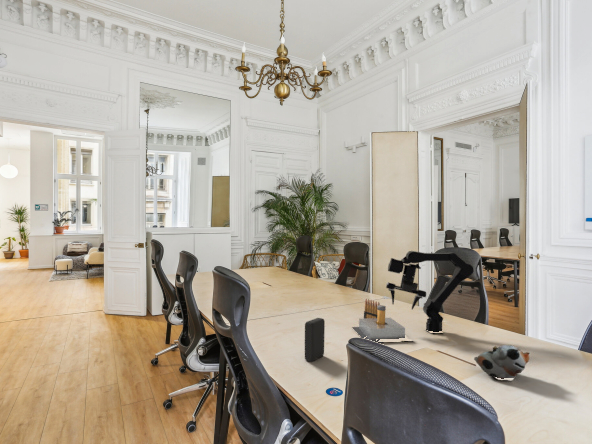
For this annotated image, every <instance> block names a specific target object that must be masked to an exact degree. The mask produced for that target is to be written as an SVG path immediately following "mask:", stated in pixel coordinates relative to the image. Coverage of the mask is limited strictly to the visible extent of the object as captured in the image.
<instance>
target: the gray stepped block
mask: <svg viewBox="0 0 592 444" xmlns="http://www.w3.org/2000/svg"><path fill="white" fill-rule="evenodd" d="M352 328H353V329H354V330H355V331H356V332H357V333H358V334H357V333H356V332H355V331H354V330H353V329H352ZM351 329H352V330H353V331H354V332H355V333H356V334H357V336H359V335H360V336H361V337H360V336H359V337H360V339H362V338H364V337H366V336H367V337H366V338H365V339H369V340H372V341H375V342H378V341H379V340H380V339H399V338H405V335H406V327H405V326H403V325H401V323H399V322H398V321H396V320H395V319H393V318H391V317H385V325H378V324H377V318H364V317H363V318H359V319H358V326H352V327H351ZM376 339H378V340H377V341H376ZM378 344H383V343H382V342H381V343H380V342H379V343H378Z"/></svg>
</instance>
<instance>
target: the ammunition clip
mask: <svg viewBox="0 0 592 444" xmlns="http://www.w3.org/2000/svg"><path fill="white" fill-rule="evenodd" d="M367 299H368V300H367ZM378 305H381V304H380V301H378V302H377V301H375V300H372V299H370V298H365V302H364V311H363V318H377V316H378V310H377V306H378Z"/></svg>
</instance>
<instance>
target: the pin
mask: <svg viewBox="0 0 592 444" xmlns="http://www.w3.org/2000/svg"><path fill="white" fill-rule="evenodd" d="M386 307H387V306H386V305H381V304H380V305H378V304H377V310H378V316H377V324H378V325H385V318H386V310H387V309H386Z"/></svg>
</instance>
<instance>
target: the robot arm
mask: <svg viewBox="0 0 592 444" xmlns="http://www.w3.org/2000/svg"><path fill="white" fill-rule="evenodd" d="M432 261H433V262H436V261H437V262H438V261H440V262H444V261H445V262H447V261H449V262H450V263H451V264H452V265H453V266H454V267H455V269H454V271H453V274H452V276H451V277H450V279H449V280H447V282H446V284H445V285H444V286H443V287H442V288H441V289H440V291H439V292H438V293H437V294H436V296H435V297H434V298H432V299H431V298H427V292H426V290H421V289H418V288H419V287H418V285H419V284H418V283H417V282H414V281H415V276H416V272H417V269H418V270H421V269H422V267H421V266H420V264H419V263H424V262H432ZM474 271H475V270H474V266H472V265H471V264H469V263H467V262H466V261H464V260H463V259H462V258H460V257H459V256H458V255H457V254H456V253H455V252H452V251H451V252H450V251H449V252H420V251H417V250H409V251H408V252H407V253H406V254H405V256H404V257H403V258H401V259H395V258H392V257H391V258H390V261H389V263H388V267H387V272H390V273H395V274H399V275H400V274H401V273H402V276H401V281H400V282H401V283H400V286H399V285H396V283H393V282H387V283H386V287H385V288H386V289H388V291H389V292H390V295H391V305H394V303H395V294H396V293H395V292H396V291H395V290H398V291H402V292H406V293H410V294H415V296H414V297H413V298H414V299H413V301H412V305H411V310H413V309H414V308H415V307H416V305H417V303H418V302H419V300H420V299H423V298H427V300H426V302H424V303H423V307H422V310H423V313H424V314H425V315H426V316H427V318H426V322H425V323H426V325H425V329H426V330H428V331H433V332H439V331H442V332H443V321H444V317H443V316H442V315H441V314H440V311H441V309H442V307H443V304H444V303H445V301H447V299H448V298H449V297H450V296H451V294H452V293H453V292H454V291H455V290H456V288H457V287H458V286H459V285H460V283H461V282H463V281H465V280H467V279H468V278H469V277H470V276H472V274H473V273H474ZM426 330H425V331H426ZM428 331H427V332H428Z"/></svg>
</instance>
